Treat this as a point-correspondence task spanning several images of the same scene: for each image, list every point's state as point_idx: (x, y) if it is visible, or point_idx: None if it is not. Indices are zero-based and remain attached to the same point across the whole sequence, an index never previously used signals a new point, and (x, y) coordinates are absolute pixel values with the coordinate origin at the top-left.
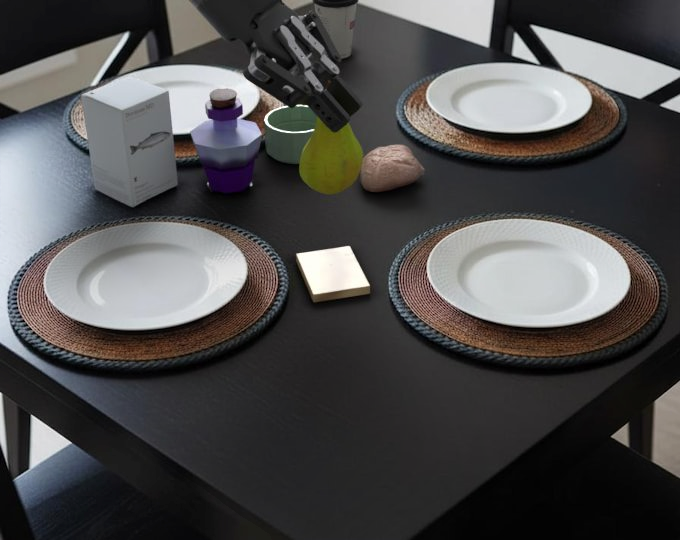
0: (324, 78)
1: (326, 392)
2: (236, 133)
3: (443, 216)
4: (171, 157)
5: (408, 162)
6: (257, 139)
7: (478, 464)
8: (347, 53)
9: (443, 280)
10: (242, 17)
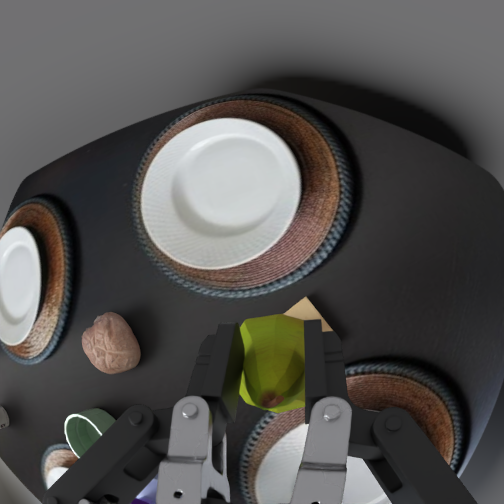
0: (219, 426)
1: (440, 271)
2: (155, 495)
3: (154, 278)
4: None
5: (107, 324)
6: None
7: (442, 154)
8: (2, 408)
9: (257, 241)
10: None
